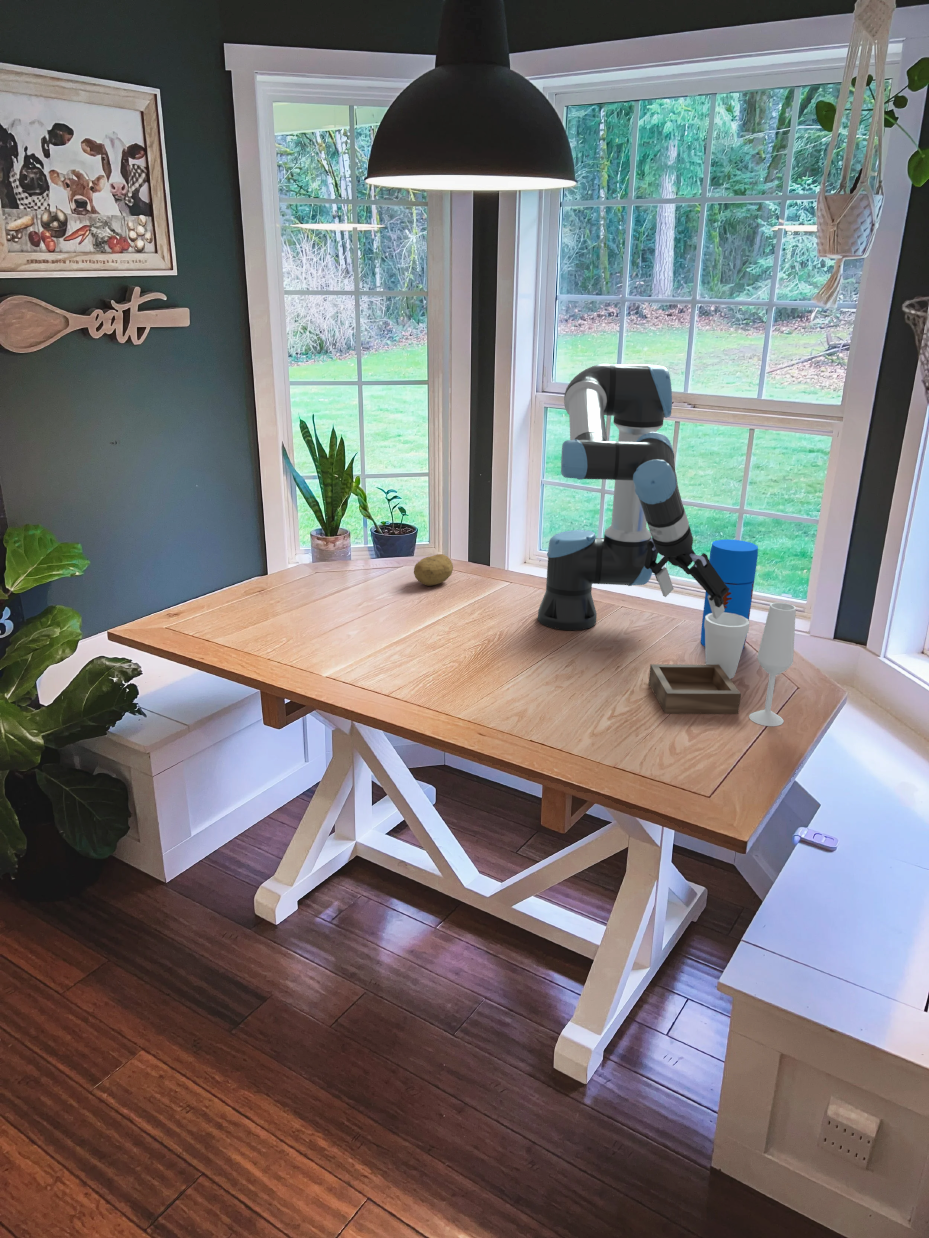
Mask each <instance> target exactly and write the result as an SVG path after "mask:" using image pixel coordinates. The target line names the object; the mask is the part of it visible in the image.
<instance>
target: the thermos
mask: <svg viewBox="0 0 929 1238" xmlns="http://www.w3.org/2000/svg"><path fill="white" fill-rule="evenodd" d="M758 551H759V546H758V545H757V544H755V543H753V542H750V541H746V540H739V539H718V540H714V541H712V543H711V547H710V551H709V552H710V553H709V558H708V559H709V562H710V563H711V565H712V566H713V568H714V569H715V570H716V572H717V573H718V575H719V576H720V577H721V579H722V580H723V582H724V583H725V585H726V586H727V587H728V589H729V591H728V592H727V593H726V594H725V596H724V597H723V600H724V603H723V606H724V609H725V611H724V612H726V613H733V614H737V615H741V616H743V617H745V618H747V619H748V620H749V621H750V617H751V616H750V614H751V610H752V608H751V607H752V600H753V593H754V585H755V578H756V572H757V565H758V557H759V552H758ZM704 594H705V595H704V601H703V602H704V603H703V611H702V612H703V613H702V620H701V629H700V631H701V632H700V644H701V645H702V646H703V647H705V628H704V623H705V616H706V615H708V614H710V613H712V610H711V607H710V604H709V600H708V595H709V594H708V593H707V592H706V591H705V593H704ZM747 636H748V634H747V635H746V639H745V642H744V646H743V649H742V651H743V650H745V647H746V641H747Z"/></svg>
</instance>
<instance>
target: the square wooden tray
mask: <svg viewBox="0 0 929 1238" xmlns="http://www.w3.org/2000/svg"><path fill="white" fill-rule="evenodd" d="M649 667H650V668H649V675H648V676H649V677H648V684H649V685H648V686H649V687H650V688H651V690H652V693H654V696H655V697H656V700H657V701H658V704H659V705H660V706H661V709H662V710H663V712H664V714H665V715H668V714H672V715H675V714H677V715H680V714H681V715H682V714H685V715H686V714H687V715H688V714H689V715H691V714H692V715H701V714H702V715H704V714H705V715H709V714H710V715H713V714H714V715H722V714H723V715H731V714H732V715H734V714H735V715H736V714H737V715H738V714H739V712H740V704H741V695H742V694H741V692H740V690H739V689H738V688H737V686H736V685H735V684H734V683H733V681H732V680H731V679H729V677H728V676H727V675H726V673H725V672H724V671H723V669H722V668H721V667H720V665H706V664H689V663H688V664H683V663H682V664H681V663H680V664H675V663H674V664H672V663H671V664H666V663H665V664H664V663H662V664H659V663H657V664H656V663H655V664H654V663H653V664H652V663H651V664H650V666H649Z"/></svg>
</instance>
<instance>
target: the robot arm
mask: <svg viewBox="0 0 929 1238" xmlns="http://www.w3.org/2000/svg"><path fill="white" fill-rule="evenodd" d="M563 396H564V397H563V403H564V404H563V405H564V409H565V411H566V413H567V414H568V416H569V417H568V418H569V439H568V440H565V441H564V442H563V443H562V445H561V459H560V460H561V462H560V474H561V475H562V476H563V477H564V478H566V479H577V480H578V481H579V480H580V481H581V480H605V481H607V480H611V481H613V480H614V487H613V488H614V490H613V501H612V502H613V503H612V513H611V524H610V526H608V527H607V528H606V529H605V530H604V534H603V537H597V535H596V532H594V531H592V530H585V529H573V530H565V531H561V532H558V533H555V534H554V535H552V536H551V537H550V539H549V542H548V548H547V549H548V550H547V552H546V556H547V566H546V567H547V568H546V570H547V571H546V582H545V583H546V587H545V593H544V595H543V597H542V599H541V600H542V601H541V603H540V605H539V607H538V611H537V621H538V622H539V623H540V624H541V625H543V626H545V627H549V628H550V629H556V630H561V631H562V630H563V631H581V630H587V629H590V628H592V627H593V626H595V625H596V624H597V614H598V613H597V611H596V607H595V603H594V599H593V594H592V590H593V589H592V587H593V584H595V585H596V584H597V585H617V586H628V587H632V586H644V585H646V584H648V583H649V582H650V580H651V578H652V576H653V574H654V577H655V579H656V581H657V583H658V585H659V589H660V590H661V591H660V592H661V593H662V596H663V597H665V598H666V597H668V596H669V595H670V593H671V592H672V591H673V590H674V585H673V583H672V579H671V577H670V573H669V570H668V568H667V567H665V565H666V564H667V563H670V564H671V566H674V567H675V566H676V567H678V568H680V569H681V570H682V571H684V572H685V573H686V574H687V576H688V575H690V576H691V577H692V578H693V579H694V580H695V581H696V582H697V583H698V584H699V585H700V586H701V588H702V589H703V590H704V591H705V593H706V592H707V593H708V594H709V595H708V600H709V604H710V607H711V610H712V614H713V617H714V618H715V619H717V618H718V617H719V616H720V615H721V614H722V613H723V612H724V611H725V609H724V606H723V603H724V600H723V597H724V596H725V594H726V593H727V592H728V591H729V589H728V587H727V586H726V585H725V583H724V582H723V580H722V579H721V577H720V576H719V575H718V573H717V572H716V570H715V569H714V568H713V566H712V565H711V563H710V562H709V559H710V558H709V557H708V555H707V554H706V553H705V552H702V554H700V555H698V554H696V553H695V551H694V549H693V544H694V537H693V536H694V535H693V534H692V531H691V530H692V529H691V527H690V523H689V519H688V515H687V514H686V510H685V507H684V505H683V502H682V496H681V494H680V489H679V486H678V477H677V473H676V464H675V452H674V450H673V445H672V443H671V440H670V439H669V438H668V437H667V436H666V435H665V434H663V433H660V432H658V431H659V430H660V428H663V426H664V421H665V420H664V419H668V418H670V417H671V416H672V410H673V391H672V379H671V376H670V372H669V370H668V368H667V367H665V366H662V365H655V364H654V365H653V364H647V363H646V364H643V363H642V364H633V363H632V364H611V363H601V364H600V363H599V364H596V365H593V366H590V367H587V368H585V369H584V370H582V371H580V372H579V373H578V374H576V376H574V377H573V378H572V379H571V380H570V382H569V383H568V385H567V387H566V389H565V391H564V395H563ZM605 416H611V417H613V424H614V425H615V427H616V428H617V429H618V439H617V440H618V441H616V440H615V441H612V440H608V436H607V428H606V427H607V426H606V420H605ZM647 527H648V528H647ZM658 554H659V555H660V556H662V558H661V559H660V560H659V561H658V562H657V559H658V556H659V555H658ZM692 563H693V565H692ZM691 565H692V566H691ZM689 567H690V568H689Z"/></svg>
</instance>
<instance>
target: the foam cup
mask: <svg viewBox="0 0 929 1238" xmlns="http://www.w3.org/2000/svg"><path fill="white" fill-rule="evenodd" d="M704 628H705V646H704V649H705V665H720V667H721V668H722V669H723V671H724V672H725V673H726V675H727V676H728V677H729V679H730V680H731V679H733V678H734V677H735V675H736V674H737V669H738V666H739V662H740V659H741V656H742V652H743V650H744V649H743V646H744V642H745V639H746V640H747V637H746V635H747V636H748V634H749V630H750V619H749V620H748V619H747V618H745V617H743V616H741V615H737V614H733V613H726V612H723V613H722V614H721V615H720V616H719V617H718V618H717V619H715V618H714V617H713V614H712V613H710V614H708V615H706V616H705V623H704ZM745 643H746V642H745ZM742 649H743V650H742Z"/></svg>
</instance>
